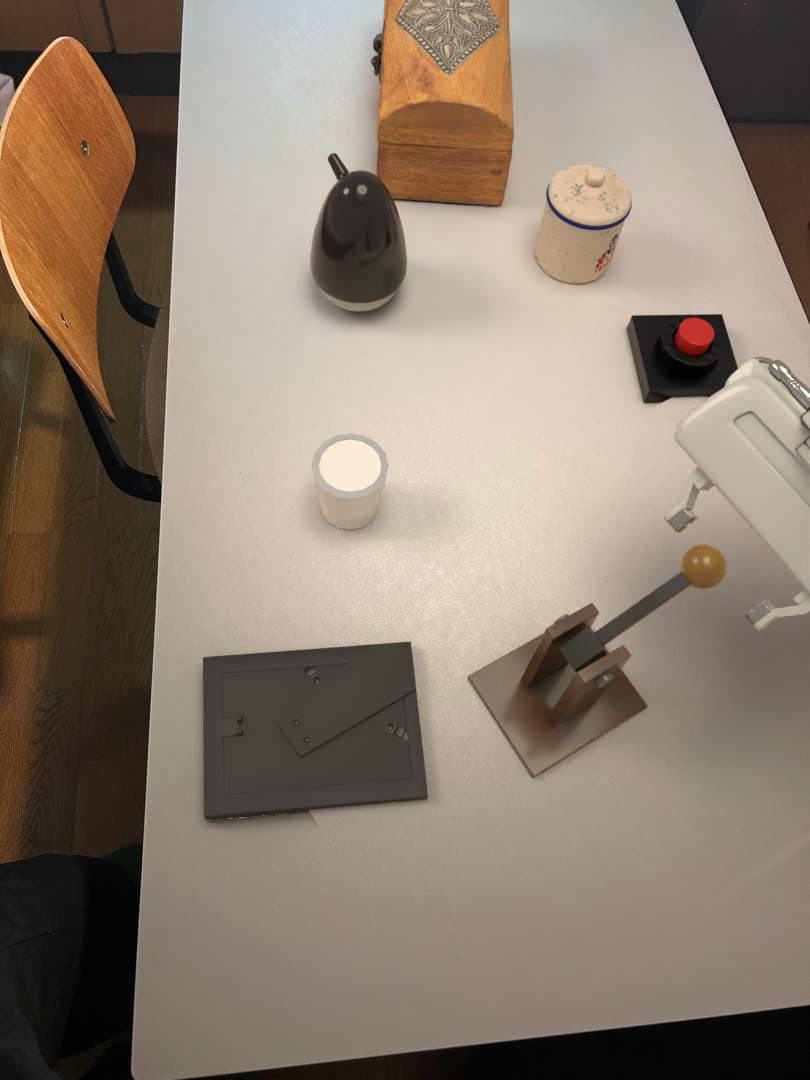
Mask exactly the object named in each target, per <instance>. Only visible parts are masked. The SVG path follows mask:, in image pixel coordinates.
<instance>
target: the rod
mask: <svg viewBox="0 0 810 1080" xmlns="http://www.w3.org/2000/svg"><path fill="white" fill-rule="evenodd" d="M727 567H728V564H727V560H726V557H725V556H724V554H723V553H722V551H721V550H720V549H718V548H717V547H716V546H713V545H711V544H707V543H705V544H704V543H699V544H695V545H692V546H690V547H689V548H688V549H686V550H685V551H684V552H683V554H682V556H681V557H680V560H679V573H677V574H675V575H674V576H672V577H671V578H670V579H669V580H667V581H665V582H663V584H661V585H660V586H658V587H657V588H656V589H654V590H653V591H651V592H650V593H649V594H647V595H645V597H643V598H642V599H640V600H638V601H637V602H636V603H634V604H632V605H631V606H630V607H629V608H627V609H626V610H624V611H623V612H621V613H620V614H618V615H617V616H616V617H614V618H613V619H611V620H610V621H608V622H607V623H605V624H604V625H602V626H601V627H600V628H598V629H597V630H596V631H593V632H594V633H593V632H592V631H591V629H592V628H591V627H590V628H591V629H590V628H589V627H586V628H585V629H583V630H582V631H580V632H579V633H577V634H576V635H575V636H573V637H572V638H570V639H569V640H567V641H566V642H565V643H563V644H562V645H560V646H559V647H558V649H559V650H560V651H561V653H562V654H563V656H564V657H565V658H566V660H567V661H568V663H569V664H570V665H571V667H572V668H573V670H574V671H575V672H578V671H580V670H581V669H583V668H585V667H587V666H588V665H590V664H592V663H593V662H595V661H597V660H598V659H600V658H602V657H604V656H605V655H607V654H608V653H607V651H608V650H607V651H606V650H605V648H606V645H608V644H609V643H611V642H612V641H614V640H615V639H617V638H618V637H620V636H621V635H622V634H624V633H625V632H627V631H628V630H629V629H631V628H632V627H633V626H635V625H636V624H638V623H639V622H641V621H642V620H644V619H645V618H646V617H648V616H649V615H651V614H652V613H653V612H656V610H658V609H660V607H663V605H665V604H667V602H669V601H671V600H673V598H675V597H677V596H678V595H679V594H681V593H682V592H683V591H685V590H686V589H688V588H689V587H692V588H694V589H698V590H708V589H712V588H714V587H716V586H719V584H720V583H721V582H722V581H723V580H724V578H725V577H726V574H727V570H728V569H727ZM603 646H604V647H605V648H604V647H603Z"/></svg>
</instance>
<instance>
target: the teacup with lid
mask: <svg viewBox="0 0 810 1080" xmlns="http://www.w3.org/2000/svg"><path fill="white" fill-rule="evenodd" d="M545 195H546V200H545V201H546V202H545V205H544V209H543V214H542V217H541V220H540V221H541V222H540V226H539V230H538V234H537V238H536V242H535V246H534V254H535V255H534V256H535V258H536V261H537V263H538V265H539V266H540V267H541V269H542V270H543V271H544V272H545V273H546V274H547V275H548V276H549V277H552V278H554V279H555V280H558V281H560V282H563V283H567V284H579V285H580V284H586V283H590V282H593V281H595V280H597V279H599V278H601V277H602V276H603V275H604V274H605V273H606V272H607V270H608V269H609V266H610V264H611V261H612V258H613V256H614V253H615V248H616V246H617V244H618V241H619V238H620V235H621V233H622V230H623V227H624V224H625V220H626V219H627V218H628V217H629V215H630V213H631V211H632V205H633V201H632V194H631V190H630V189H629V186H628V184H627V183H626V182H625V181H624V180H623V179H622V178H621V177H620V176H619V175H618V174H616V173H615V172H613V171H611V170H610V169H607V168H604V167H602V166H598V165H593V164H576V165H571V166H568V167H565V168H564V169H561V170H560V171H558V172H557V173H555V175H554V176H553V177H552V179H551V180H550V181H549V182H548V185H547V188H546V192H545Z"/></svg>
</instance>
